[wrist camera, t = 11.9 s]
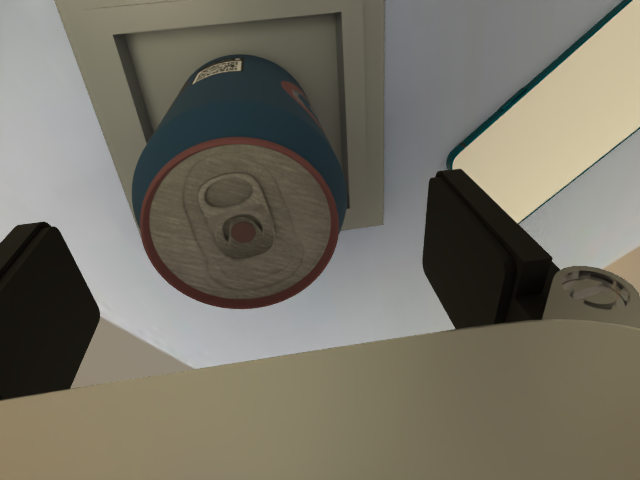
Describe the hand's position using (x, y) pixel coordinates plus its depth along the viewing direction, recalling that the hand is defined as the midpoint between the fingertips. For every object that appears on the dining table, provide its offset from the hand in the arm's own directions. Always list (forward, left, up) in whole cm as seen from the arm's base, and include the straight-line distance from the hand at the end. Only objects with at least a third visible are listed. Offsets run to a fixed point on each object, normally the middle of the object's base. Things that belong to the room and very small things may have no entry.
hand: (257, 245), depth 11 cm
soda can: (0, 0, -14) cm, 14 cm away
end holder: (0, +1, -14) cm, 14 cm away
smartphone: (-20, +3, -15) cm, 25 cm away
